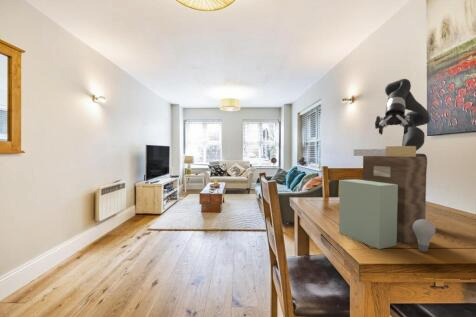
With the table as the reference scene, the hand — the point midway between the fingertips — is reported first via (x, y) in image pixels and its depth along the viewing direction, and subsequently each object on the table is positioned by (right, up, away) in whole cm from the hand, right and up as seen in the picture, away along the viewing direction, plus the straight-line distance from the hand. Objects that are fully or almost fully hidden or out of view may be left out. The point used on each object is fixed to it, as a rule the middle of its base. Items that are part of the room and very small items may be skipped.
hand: (392, 133), depth 102 cm
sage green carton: (-17, -42, -10) cm, 47 cm away
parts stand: (-4, -42, -5) cm, 43 cm away
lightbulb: (-4, -43, -22) cm, 48 cm away
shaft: (-6, -10, -1) cm, 12 cm away
